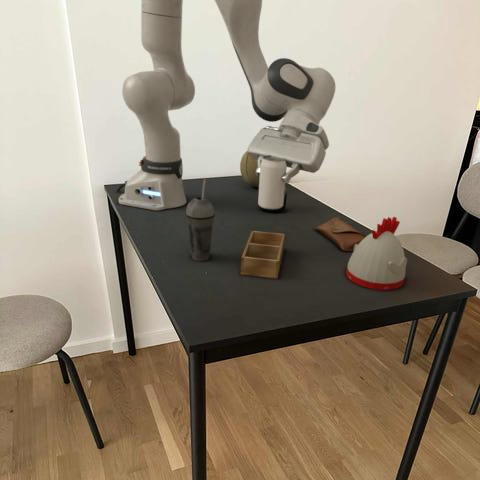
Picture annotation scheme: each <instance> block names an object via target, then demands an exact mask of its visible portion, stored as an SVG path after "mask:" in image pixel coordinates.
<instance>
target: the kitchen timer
mask: <svg viewBox="0 0 480 480" xmlns="http://www.w3.org/2000/svg"><path fill="white" fill-rule="evenodd" d="M400 223H401V221H399V220H398V218H397V217H396V216H393V217H389V216H388V217H387V218H384V217H383V219H382V222H381V224H380V223H377V224H376V225H377V226H376V230H374V229H372V230H371V233H369V234H368V235H367V237H365V238H364V239H363V240H362V241H361V242H360V243H359V244H358V245H357V244H355V246H354V251H352V254H351V256H350V258H349V260H348V263H347V266H346V273H345V275H346V276H347V278H348V279H349V280H350V281H351V282H353V283H354V284H356V285H358V286H361V287H364V288H368V289H372V290H379V291H380V290H381V291H388V290H389V291H390V290H394V289H398V288H400V287H402V286H403V284H404V283H405V278H406V272H407V271H406V267H407V263H408V258H407V257H406V256H405V255H406V254H405V251H404V248H403V245H402V243H401V241H400V240H399V238H397V236H396V235H395V233H396V231H397V229H398V228H399V225H400Z"/></svg>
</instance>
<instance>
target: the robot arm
mask: <svg viewBox="0 0 480 480" xmlns="http://www.w3.org/2000/svg"><path fill="white" fill-rule="evenodd" d="M183 3H184V0H141V7H140V9H141V12H140V14H141V16H140V17H141V19H140V23H141V25H140V27H141V28H140V35H141V37H140V38H141V39H140V41H141V45H142V47H143V49H144V50H145V51H146V52H147V53H148V54H149V55H150V58H151V61H152V66H153V70H148V71H147V70H146V71H145V70H144V71H139V72H137V73H134V74H132V75H129V76H127V77H126V78H125V79H124V81H123V84H122V88H121V92H122V98H123V101H124V103H125V105H126V106H127V108H128V109H129V110H130V111H131V112H132V113H133V114H134V115H135V116H136V118H137V120H138V122H139V124H140V126H141V129H142V134H143V141H144V151H145V156H143V157H142V159H141V160H140V161H139V162H138V166H139V167H140V168H141V169H140V170H138V172H136V173H135V174H133V175H132V176H131V177H130V178H129V179H128V180H125V181H124V183H122V184H121V185H120V186H119V187H118V188H117V189H116V192H120V191H121V189H122V188H124V193H122V194H120V196H119V197H118V204H120V205H123V206H130V207H135V208H140V209H144V210H145V209H146V210H150V211H151V210H152V211H163V210H166V209H174V208H179V207H182V206H184V205H185V204H187V202H188V200H187V197H186V194H185V190H184V184H183V174H184V167H183V158H182V157H181V156H182V154H181V133H180V132H179V130H178V129H177V128H176V127H174V126H173V124H172V122H171V120H170V116H169V112H170V111H176V110H181V109H183V108H185V107H187V106H188V105H190V104H191V103H192V102H193V101H194V99H195V98H194V97H195V94H196V88H195V87H196V86H195V83H194V81H193V78H192V77H191V76H190V74H189V73H188V71H187V68H186V66H185V62H184V57H183V50H182V40H183V39H182V34H183V33H182V32H183ZM214 3H215V4H216V6H217V9H218V11H219V13H220V15H221V17H222V20H223V22H224V25H225V27H226V30H227V32H228V34H229V35H228V36H229V37H230V40H231V43H232V46H233V49H234V52H235V54H236V57H237V59H238V62H239V65H240V67H241V70H242V71H243V74H244V76H245V79H246V81H247V84H248V86H249V89H250V95H251V105H252V109H253V111H254V112H255V114H256V115H257V116H258V117H259V118H260V119H262V120H263V121H266V122H269V123H271V122H272V123H273V122H275V123H276V122H278V121H281V120H282V121H281V122H280V124H279V126H278V127H277V126H272V125H266V126H265V127H262V128H260V129H259V131H258V132H257V134H256V135H255V136H254V137H253V138H252V140H251V142H250V143H249V144H248V147H247V151H248V153H249V155H250V156H251V158H252V159H254V160H258V168H257V170H256V172H255V173H256V175H257V176H260V166H261V162H262V160H263V156H266V155H271V157H275V158H280V159H285V158H286V159H285V161H286V164H287V168H290V169H289V170H288V171H286V173H284V174H283V176H282V177H281V180H282V182H285V184H289V183H290V181H291V179H293V178H294V177H295V176H297V175H298V174H299V173H300V171H303V172H307V173H312V174H315V173H316V172H318V171H319V170H320V169H321V168H322V165H323V163H324V160H325V157H326V156H327V155H326V154H327V152H326V150H328V148H329V147H330V142H329V138H328V135H327V133H326V131H325V129H324V126H321V125H320V122H321V121H322V120H323V119H324V118H325V116H326V115H327V113H328V110H329V109H330V107H331V104H332V103H333V100H334V97H335V94H336V87H337V86H336V81H335V78H334V77H333V75H332V74H331V73H330V72H329V71H328V70H326V69H325V68H322V67H313V68H312V67H306V66H304V65H300V64H299V63H298V62H296V61H295V60H293V59H291V58H286V57H281V58H277V59H275V60H273V62H271V64H270V65H269V66H268V64H267V62H266V59H265V57H264V53H263V52H262V49H261V45H260V39H259V31H260V28H259V27H260V20H261V13H262V8H263V7H262V6H263V0H214Z"/></svg>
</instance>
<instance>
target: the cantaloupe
mask: <svg viewBox="0 0 480 480" xmlns="http://www.w3.org/2000/svg"><path fill="white" fill-rule="evenodd" d="M257 168H258V160H254V159H252V158H251V156H250V155H249V153H248V150H246V151H245V152H244V153H243V155H242V157H241V159H240V163H239V169H240V175H241V177H242V179H243V181H244V182H245V183H246V184H247V185H249V186H251V187H254V188H258V189H259V181H260V176H257V175H256V173H255V172H256V170H257Z"/></svg>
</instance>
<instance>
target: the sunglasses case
mask: <svg viewBox="0 0 480 480" xmlns="http://www.w3.org/2000/svg"><path fill="white" fill-rule="evenodd" d="M314 230H315V231H317V232H318V233H320V234H322V235H323V236H324V237H325V238H326V239H328V240H329V241H330V242H331V243H332V244H333V245H335V246H336V247H338V248H339V249H340V250H341V251H344V252H354V246H355V244H357V245H358V244H359V243H360V242H361V241H362V240H363V239H364V238H365V237H367V236H368V235H367V236H366V235H365V234H364V233H362V232H360V231H359V230H357V228H355V227H353V226H352V225H350V224H349V223H347V222H346V221H344V220H342V219H341V218H339V217H338V215H335V217H333V218H331V219H329V220H327V221H326V222H324V223H322V224H320V225H318V226H317V227H314Z"/></svg>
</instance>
